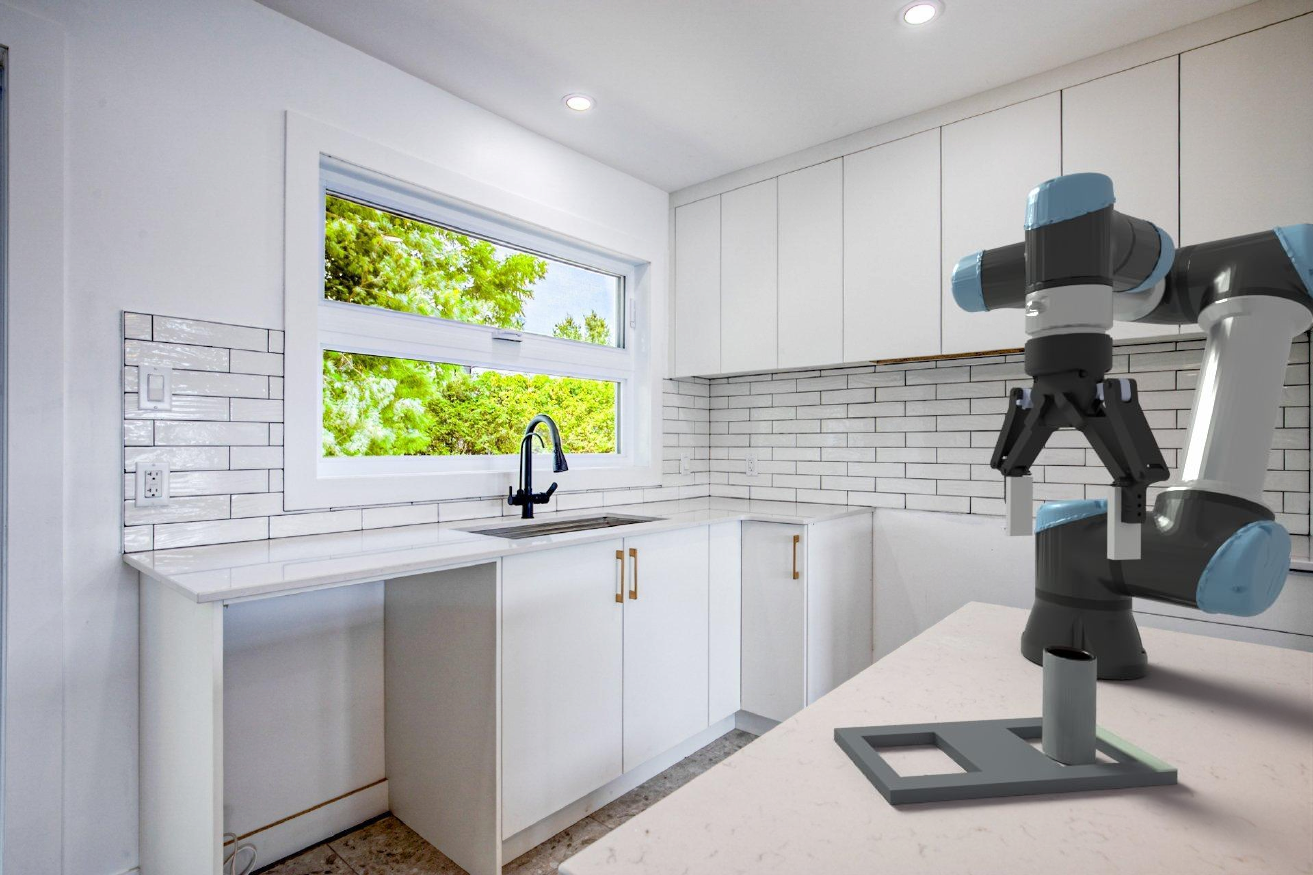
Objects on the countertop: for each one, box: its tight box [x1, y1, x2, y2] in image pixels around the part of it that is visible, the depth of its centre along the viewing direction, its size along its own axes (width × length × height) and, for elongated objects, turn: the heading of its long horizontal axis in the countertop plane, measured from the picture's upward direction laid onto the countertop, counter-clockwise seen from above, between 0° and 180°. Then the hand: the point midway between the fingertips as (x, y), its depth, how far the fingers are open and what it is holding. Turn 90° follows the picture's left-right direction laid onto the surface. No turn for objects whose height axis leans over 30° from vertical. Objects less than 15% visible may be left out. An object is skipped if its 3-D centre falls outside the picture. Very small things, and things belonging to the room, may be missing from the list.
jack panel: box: [833, 716, 1179, 805], centre depth 64 cm, size 28×12×1 cm, turn 98°
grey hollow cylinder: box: [1041, 646, 1098, 766], centre depth 65 cm, size 4×4×10 cm
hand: (1066, 546), depth 66 cm, fingers open, 13 cm apart
